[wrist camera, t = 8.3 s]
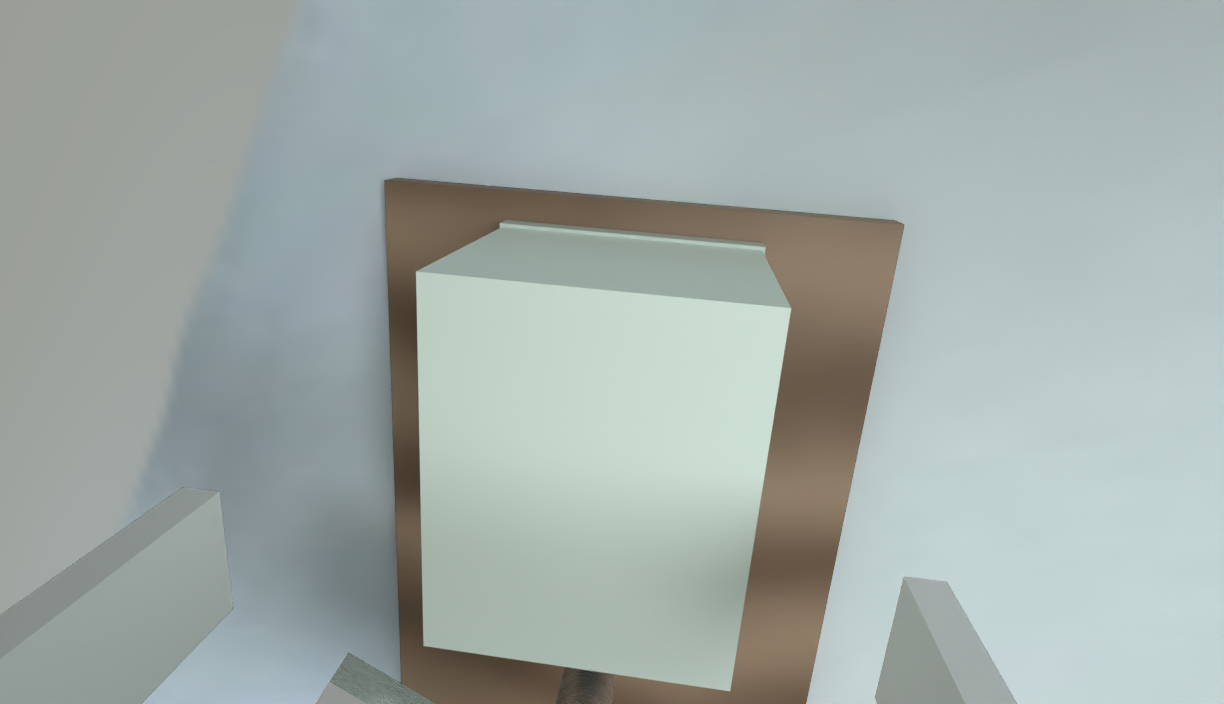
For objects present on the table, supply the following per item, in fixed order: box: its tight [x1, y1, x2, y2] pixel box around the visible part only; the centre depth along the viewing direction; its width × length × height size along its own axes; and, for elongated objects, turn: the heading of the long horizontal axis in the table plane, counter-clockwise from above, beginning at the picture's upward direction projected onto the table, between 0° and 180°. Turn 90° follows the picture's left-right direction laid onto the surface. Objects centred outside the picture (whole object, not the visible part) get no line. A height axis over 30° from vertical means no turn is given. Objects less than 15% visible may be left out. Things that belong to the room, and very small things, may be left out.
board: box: [384, 178, 904, 704], centre depth 26 cm, size 24×16×2 cm
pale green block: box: [416, 220, 791, 691], centre depth 20 cm, size 10×8×8 cm
